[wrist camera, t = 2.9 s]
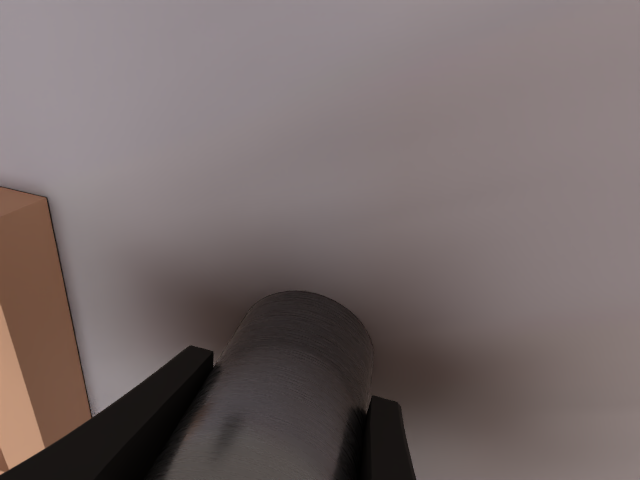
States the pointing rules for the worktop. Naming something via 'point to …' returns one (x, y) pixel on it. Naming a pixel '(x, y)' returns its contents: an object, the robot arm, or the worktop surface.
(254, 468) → the long steel pin
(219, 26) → the worktop surface
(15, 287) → the hole board
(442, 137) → the worktop surface
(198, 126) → the worktop surface
